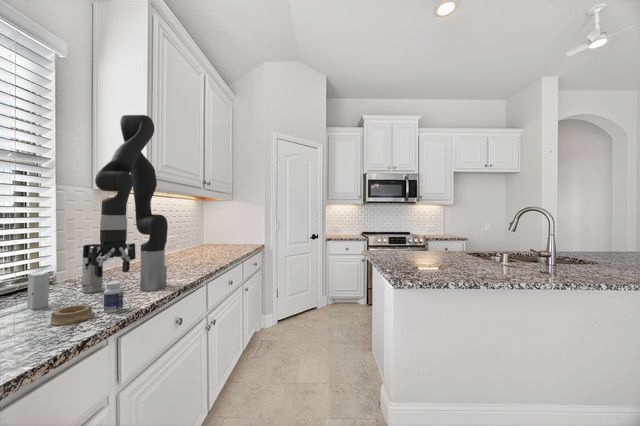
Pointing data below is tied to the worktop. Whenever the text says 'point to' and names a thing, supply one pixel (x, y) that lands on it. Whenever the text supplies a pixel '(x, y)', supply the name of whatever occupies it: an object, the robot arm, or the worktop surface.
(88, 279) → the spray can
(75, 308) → the collar
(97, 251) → the robot arm
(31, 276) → the skincare box
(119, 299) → the pill bottle
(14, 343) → the worktop surface
